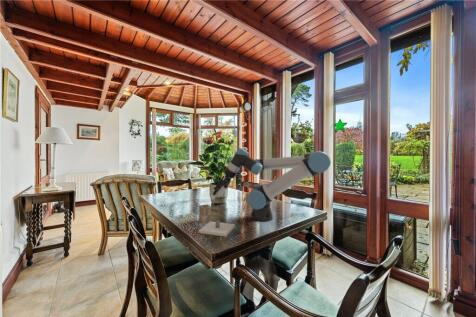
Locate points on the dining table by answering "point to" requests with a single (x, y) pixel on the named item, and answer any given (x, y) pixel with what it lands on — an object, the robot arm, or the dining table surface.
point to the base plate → (217, 228)
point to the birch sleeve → (205, 213)
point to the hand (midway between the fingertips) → (215, 197)
